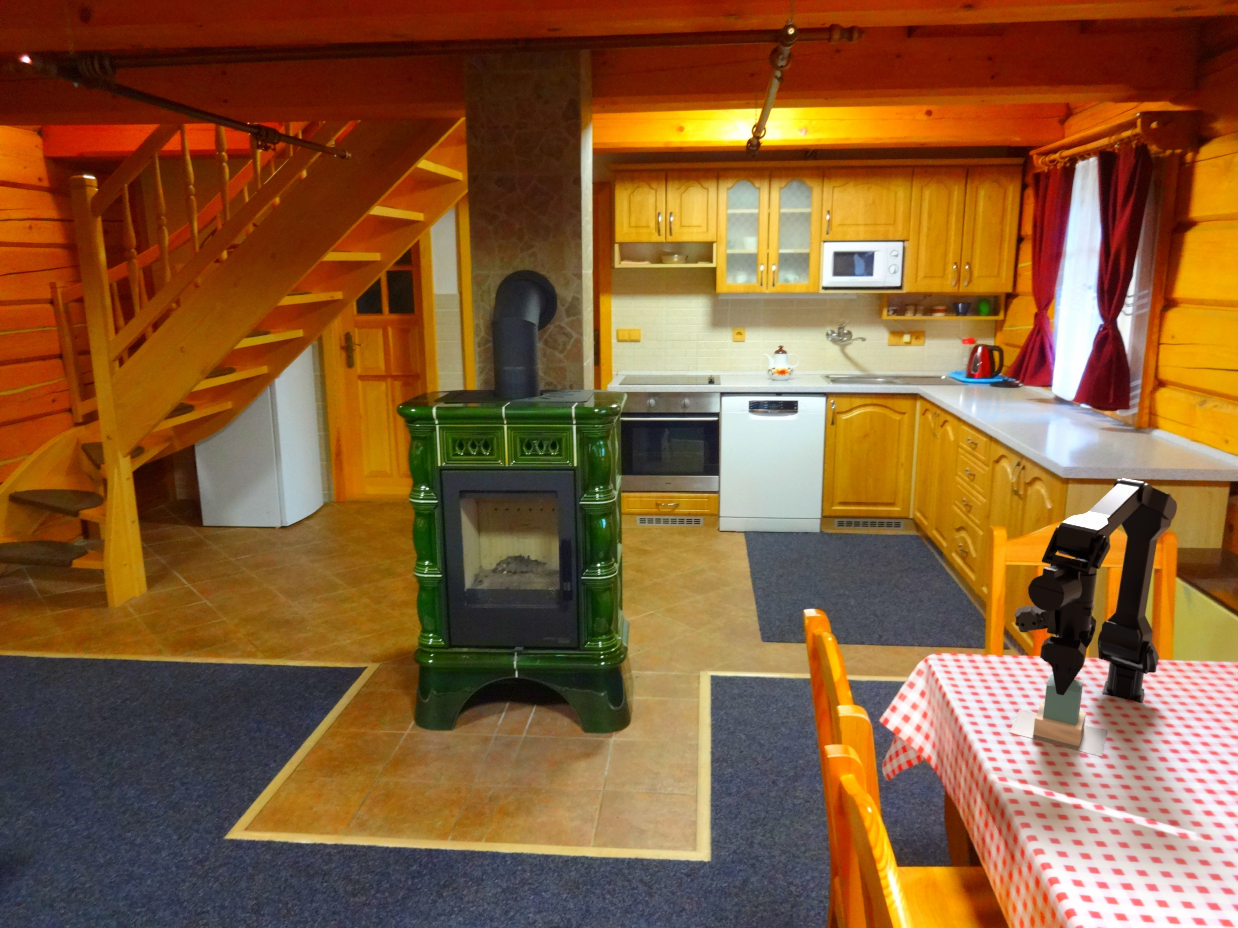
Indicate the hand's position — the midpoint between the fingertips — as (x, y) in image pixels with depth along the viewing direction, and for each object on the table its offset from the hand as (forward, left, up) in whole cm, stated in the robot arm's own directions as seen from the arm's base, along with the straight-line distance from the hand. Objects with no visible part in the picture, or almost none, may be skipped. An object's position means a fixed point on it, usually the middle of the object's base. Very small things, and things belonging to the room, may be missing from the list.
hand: (1063, 683), depth 148 cm
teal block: (0, 0, -6) cm, 6 cm away
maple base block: (0, 0, -9) cm, 9 cm away
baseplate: (0, 0, -10) cm, 10 cm away
